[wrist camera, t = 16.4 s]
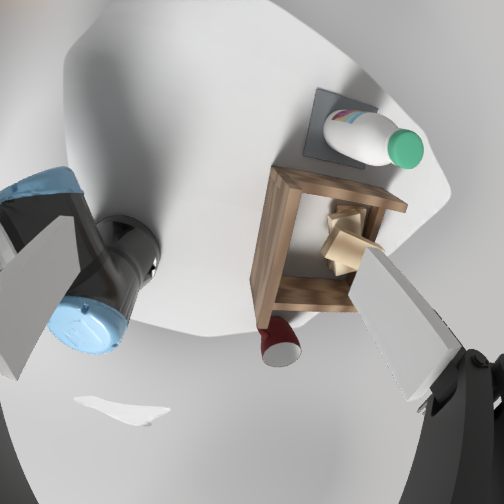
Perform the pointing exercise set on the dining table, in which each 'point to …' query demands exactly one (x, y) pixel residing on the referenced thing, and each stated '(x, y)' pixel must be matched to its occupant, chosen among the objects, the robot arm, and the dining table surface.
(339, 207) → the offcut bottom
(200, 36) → the dining table surface
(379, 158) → the milk bottle
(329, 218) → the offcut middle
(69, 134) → the dining table surface
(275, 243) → the rack
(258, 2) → the dining table surface
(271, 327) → the mug
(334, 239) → the offcut top
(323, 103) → the mat
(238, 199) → the dining table surface
